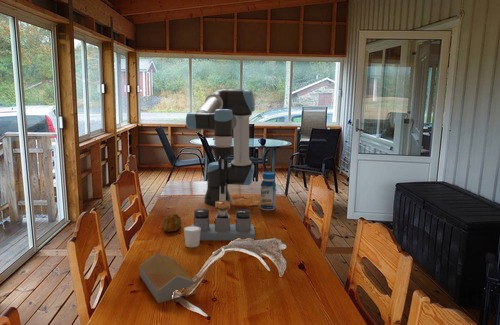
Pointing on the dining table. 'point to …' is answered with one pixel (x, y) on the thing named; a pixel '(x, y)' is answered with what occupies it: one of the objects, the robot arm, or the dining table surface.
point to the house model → (159, 265)
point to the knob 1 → (201, 213)
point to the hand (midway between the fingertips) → (222, 200)
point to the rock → (172, 222)
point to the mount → (225, 228)
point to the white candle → (192, 236)
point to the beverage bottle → (268, 191)
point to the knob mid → (222, 208)
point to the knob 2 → (243, 213)
